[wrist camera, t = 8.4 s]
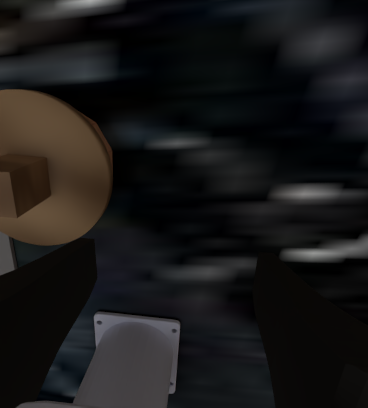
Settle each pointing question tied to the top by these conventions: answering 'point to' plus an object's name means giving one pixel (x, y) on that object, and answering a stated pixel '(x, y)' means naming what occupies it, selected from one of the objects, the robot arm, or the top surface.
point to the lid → (49, 169)
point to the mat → (7, 254)
